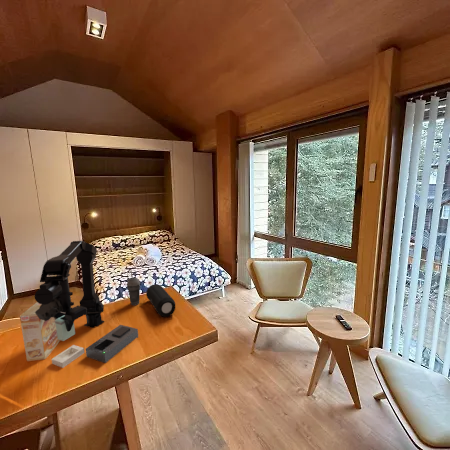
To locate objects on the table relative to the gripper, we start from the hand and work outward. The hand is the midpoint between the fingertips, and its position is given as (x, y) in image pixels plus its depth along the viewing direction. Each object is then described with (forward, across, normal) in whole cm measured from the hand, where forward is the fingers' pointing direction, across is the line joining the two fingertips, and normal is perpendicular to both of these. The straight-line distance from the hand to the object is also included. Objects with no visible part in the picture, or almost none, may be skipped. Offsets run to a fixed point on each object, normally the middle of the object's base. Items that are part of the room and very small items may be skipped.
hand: (65, 330), depth 96 cm
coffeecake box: (+13, -15, +1) cm, 20 cm away
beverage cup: (+13, -8, +46) cm, 48 cm away
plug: (+3, 0, 0) cm, 3 cm away
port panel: (+12, +11, +12) cm, 20 cm away
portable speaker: (+13, +8, +47) cm, 49 cm away
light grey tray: (+12, 0, 0) cm, 13 cm away
